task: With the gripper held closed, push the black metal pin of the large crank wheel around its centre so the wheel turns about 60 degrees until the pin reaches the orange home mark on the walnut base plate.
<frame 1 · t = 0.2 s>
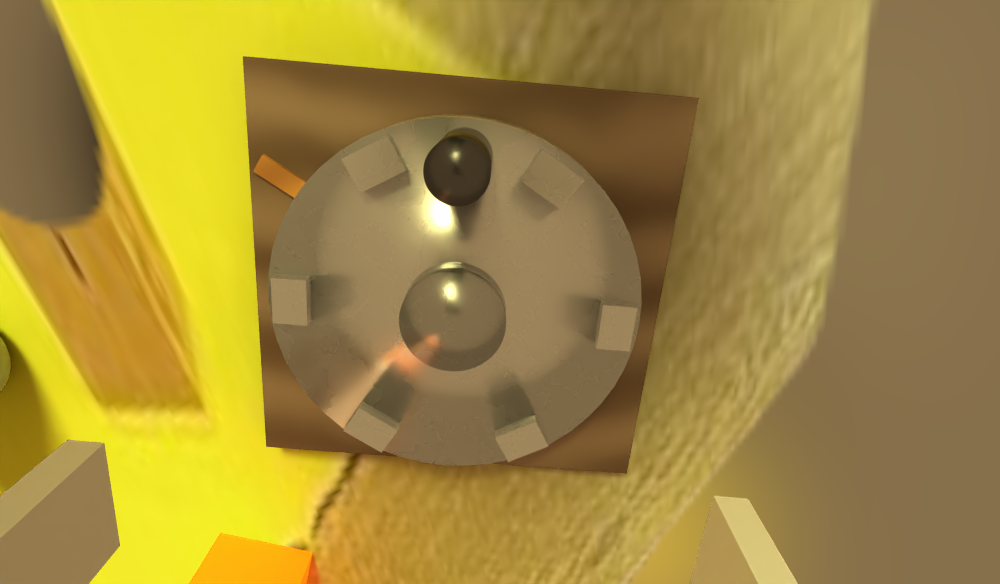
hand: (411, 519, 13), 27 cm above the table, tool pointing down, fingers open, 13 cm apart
orange juice: (261, 580, 49), on the table
base plate: (461, 281, 40), on the table
crank wheel: (453, 320, 33), point 7 cm above the table, hinge at 0.0°
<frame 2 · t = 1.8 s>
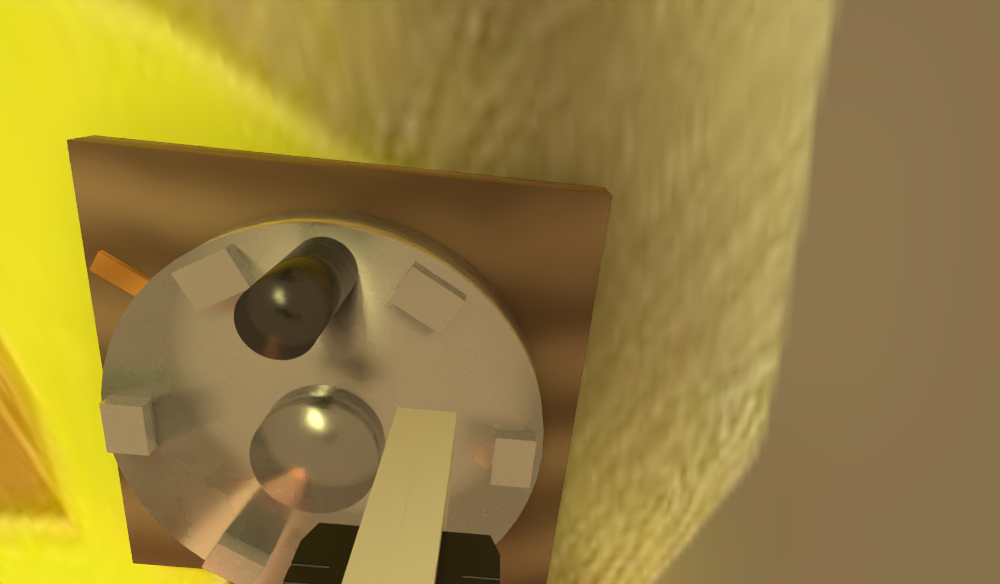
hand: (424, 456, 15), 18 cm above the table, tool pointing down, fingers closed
base plate: (350, 384, 34), on the table
crank wheel: (316, 455, 28), point 7 cm above the table, hinge at 0.0°
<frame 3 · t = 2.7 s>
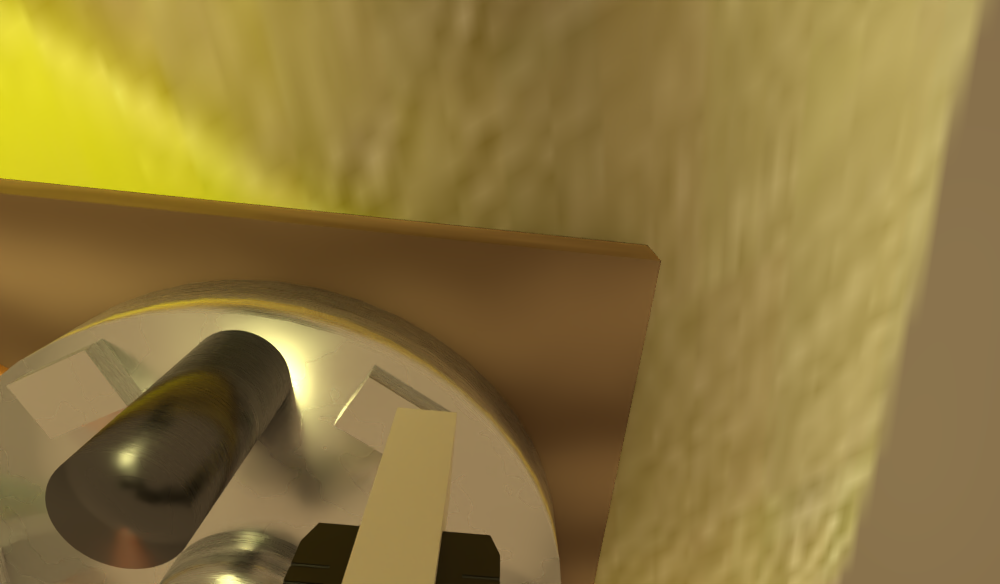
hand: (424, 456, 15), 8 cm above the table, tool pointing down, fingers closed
base plate: (300, 498, 26), on the table
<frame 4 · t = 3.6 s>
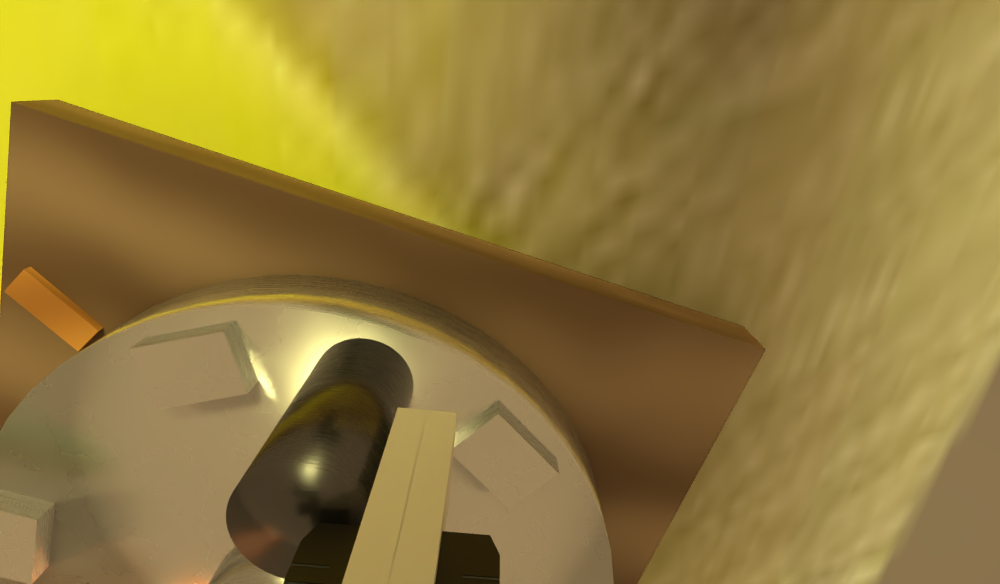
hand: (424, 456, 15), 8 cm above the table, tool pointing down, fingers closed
base plate: (339, 496, 26), on the table
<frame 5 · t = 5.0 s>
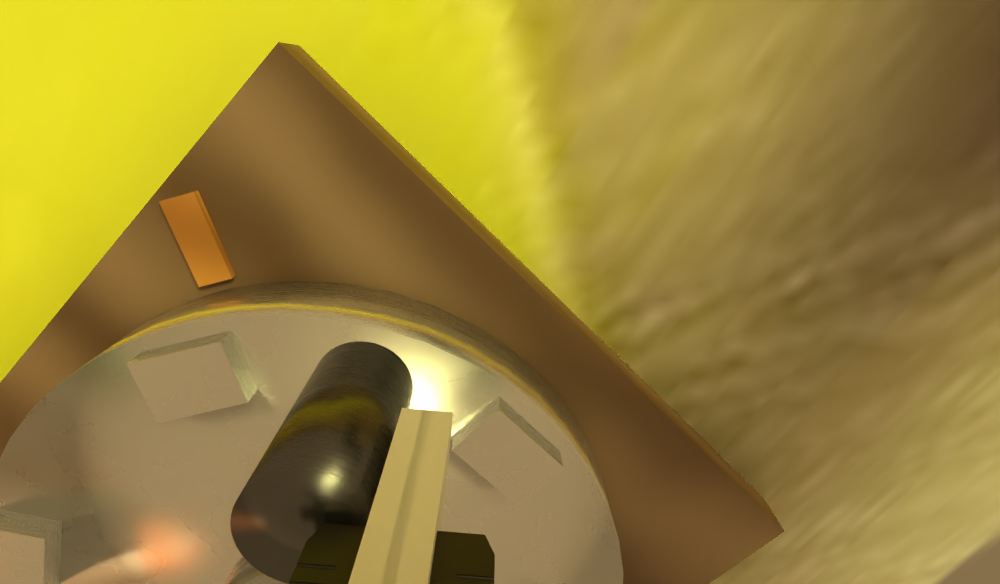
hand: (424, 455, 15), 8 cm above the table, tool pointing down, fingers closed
base plate: (346, 500, 26), on the table
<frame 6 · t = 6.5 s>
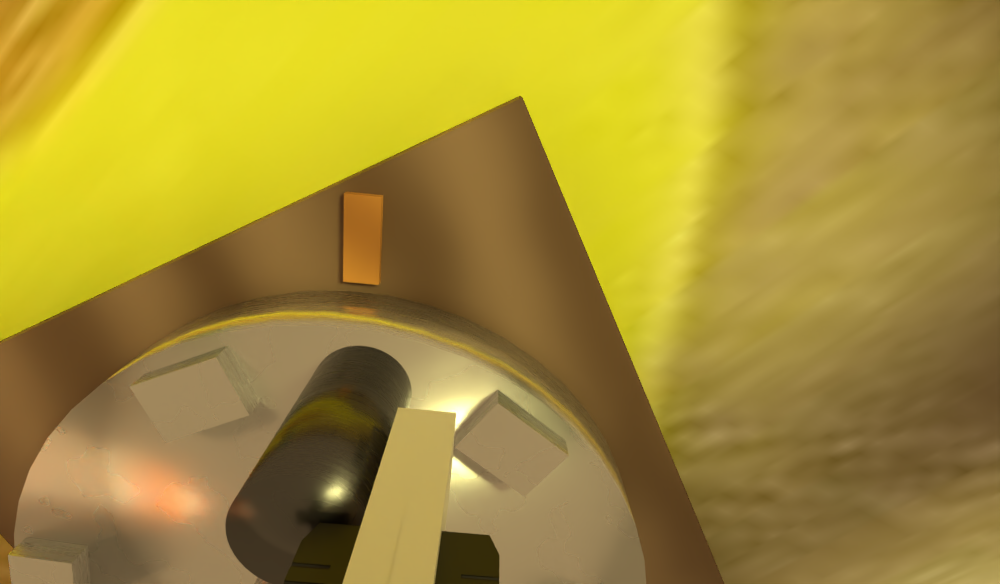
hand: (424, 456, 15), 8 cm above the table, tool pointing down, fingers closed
base plate: (367, 507, 26), on the table
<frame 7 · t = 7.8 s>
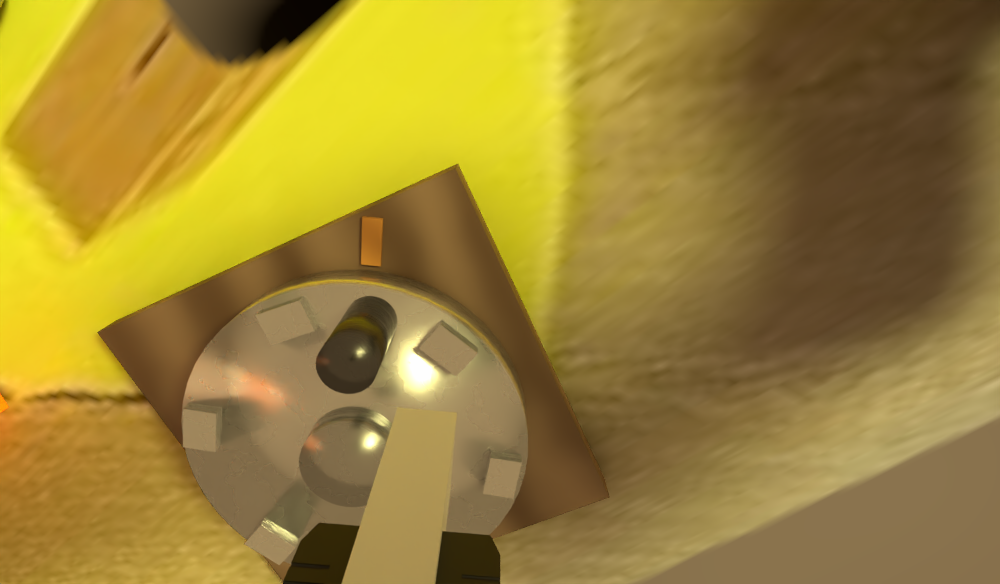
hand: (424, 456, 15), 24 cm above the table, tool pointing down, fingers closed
base plate: (373, 404, 42), on the table
crank wheel: (350, 461, 36), point 7 cm above the table, hinge at 55.2°
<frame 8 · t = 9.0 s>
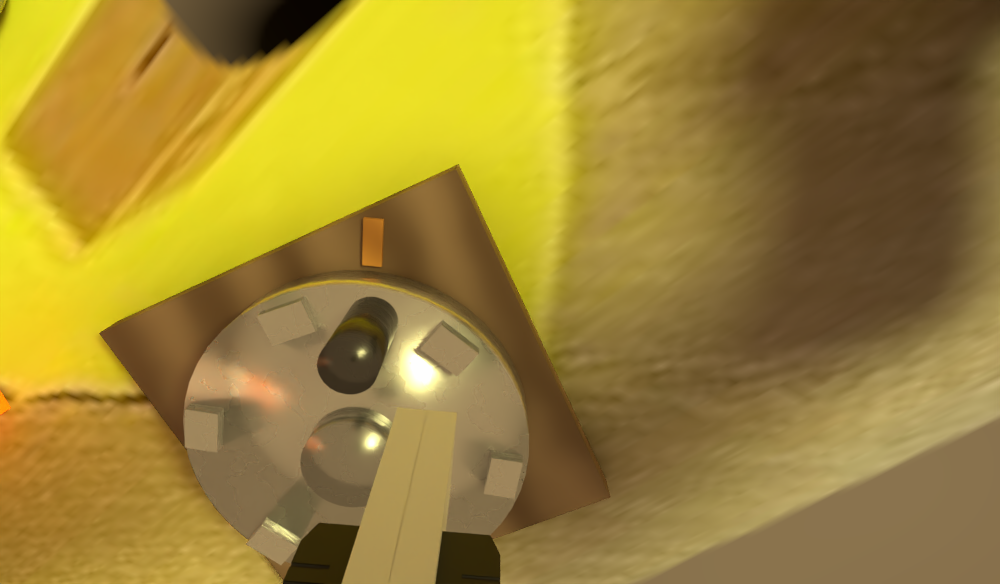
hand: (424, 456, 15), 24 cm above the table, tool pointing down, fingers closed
base plate: (374, 404, 42), on the table
crank wheel: (351, 462, 36), point 7 cm above the table, hinge at 55.2°
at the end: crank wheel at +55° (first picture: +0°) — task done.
